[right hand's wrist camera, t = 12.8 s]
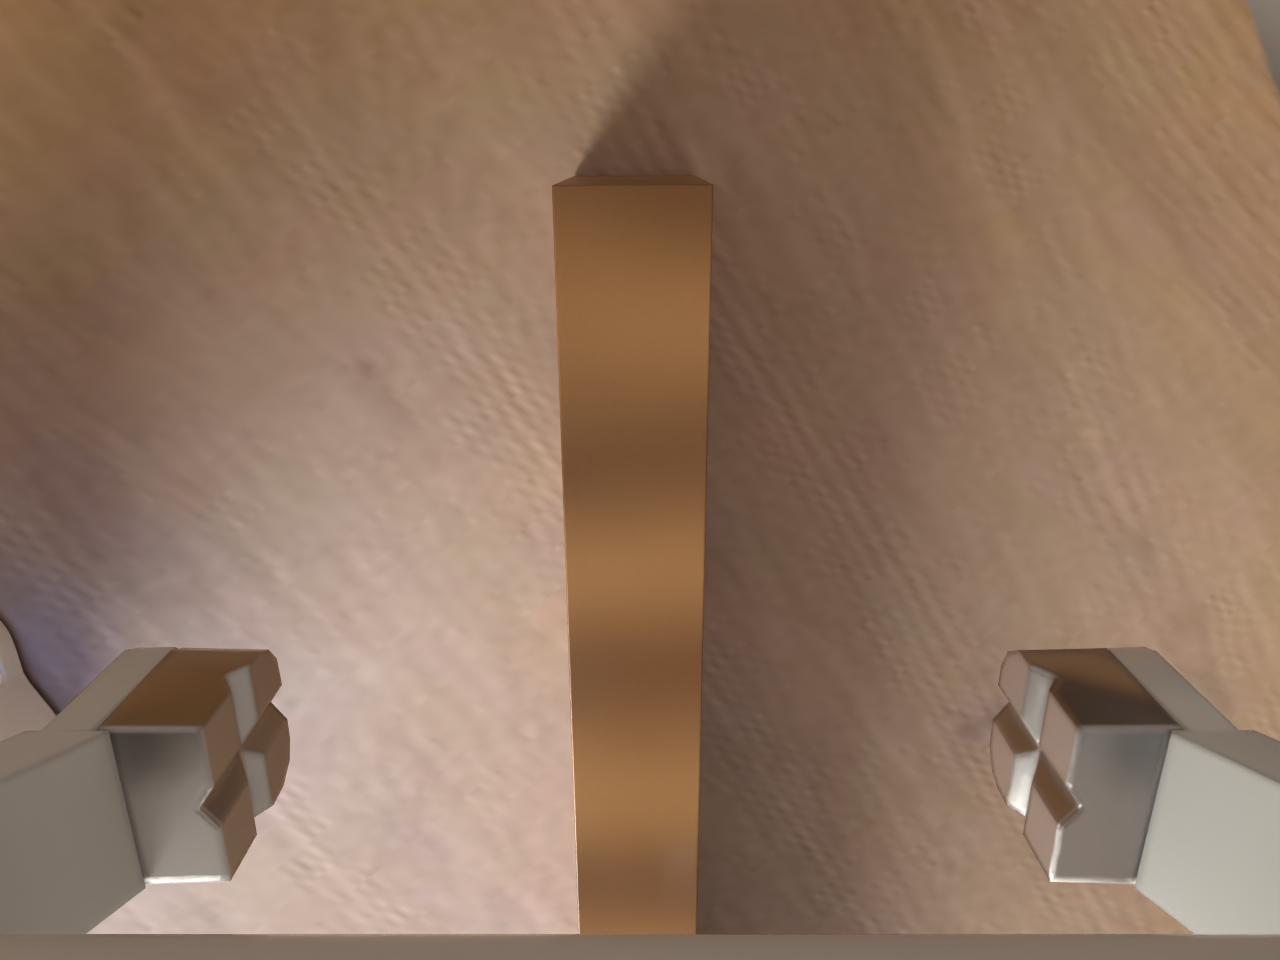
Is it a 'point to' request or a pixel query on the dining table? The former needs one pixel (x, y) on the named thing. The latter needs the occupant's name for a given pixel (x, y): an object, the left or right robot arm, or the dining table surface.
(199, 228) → the dining table surface
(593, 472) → the beam
